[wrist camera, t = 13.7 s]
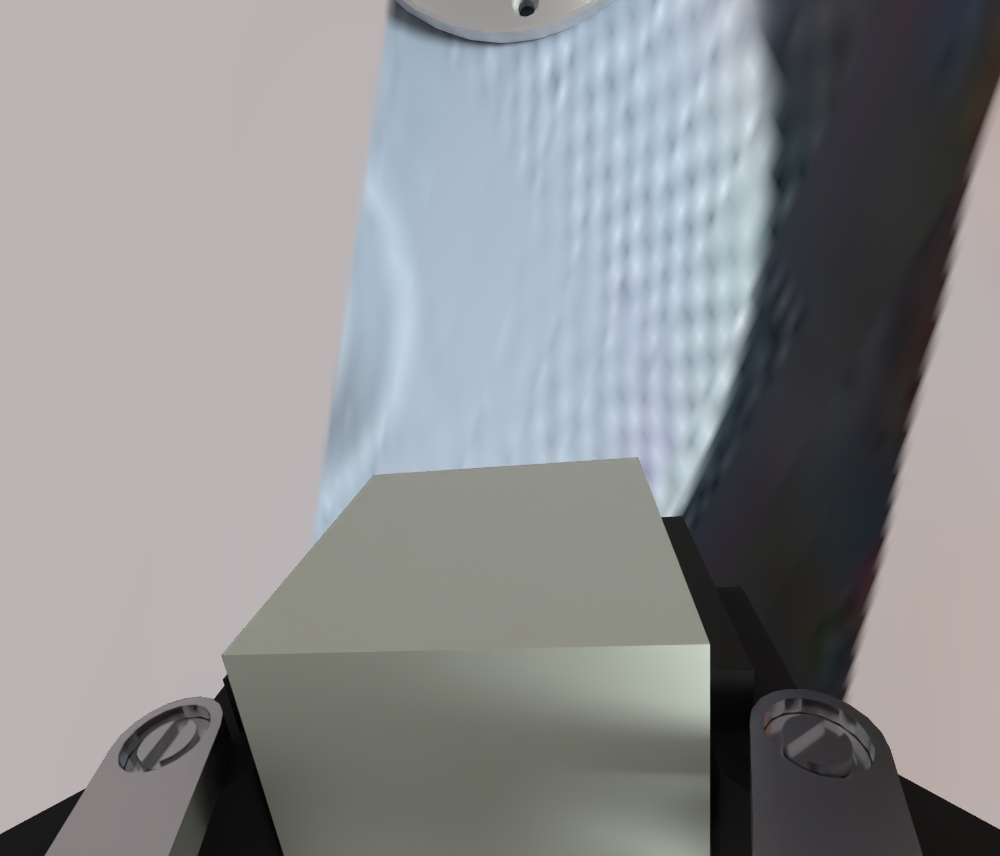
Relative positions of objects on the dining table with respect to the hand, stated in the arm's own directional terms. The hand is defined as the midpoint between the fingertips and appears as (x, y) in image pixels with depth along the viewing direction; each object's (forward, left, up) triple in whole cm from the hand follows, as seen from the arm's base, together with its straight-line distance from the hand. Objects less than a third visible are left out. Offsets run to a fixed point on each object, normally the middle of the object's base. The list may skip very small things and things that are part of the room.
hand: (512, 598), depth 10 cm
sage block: (0, 0, -1) cm, 1 cm away
